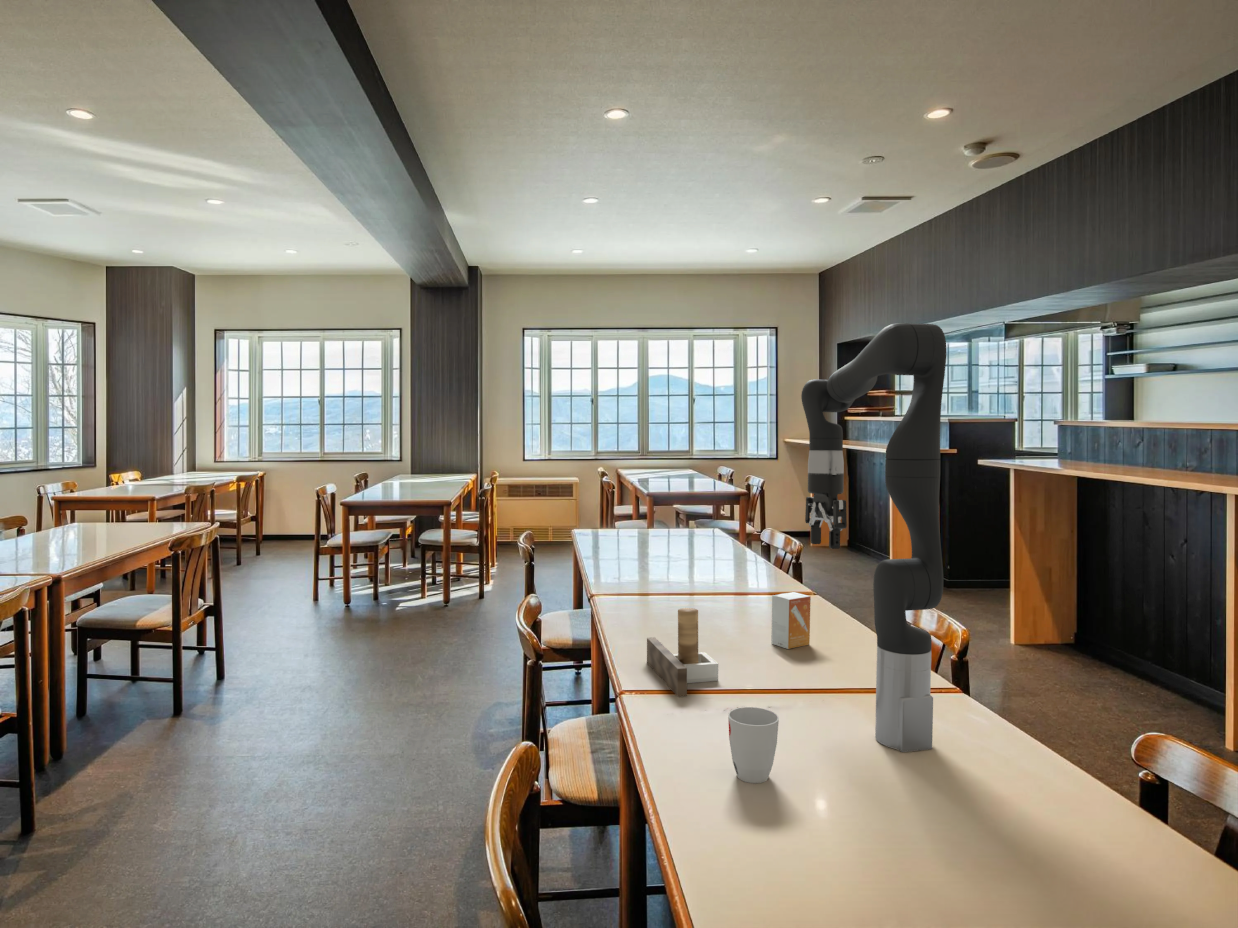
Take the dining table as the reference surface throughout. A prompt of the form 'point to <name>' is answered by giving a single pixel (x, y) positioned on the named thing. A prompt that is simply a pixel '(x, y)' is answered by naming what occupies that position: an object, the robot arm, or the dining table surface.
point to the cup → (753, 742)
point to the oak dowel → (688, 635)
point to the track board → (667, 666)
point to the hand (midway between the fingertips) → (824, 546)
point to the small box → (790, 620)
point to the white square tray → (702, 669)
